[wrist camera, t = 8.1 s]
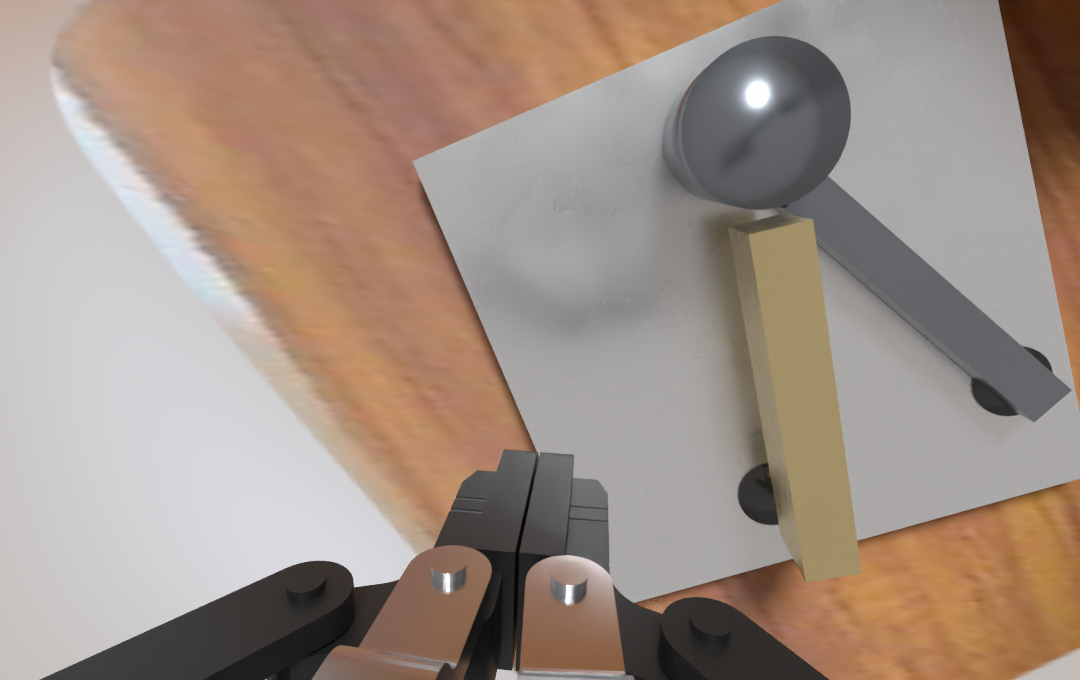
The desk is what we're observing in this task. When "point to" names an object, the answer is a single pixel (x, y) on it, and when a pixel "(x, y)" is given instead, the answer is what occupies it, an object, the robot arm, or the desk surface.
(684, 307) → the mounting plate
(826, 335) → the leg
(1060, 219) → the desk surface
